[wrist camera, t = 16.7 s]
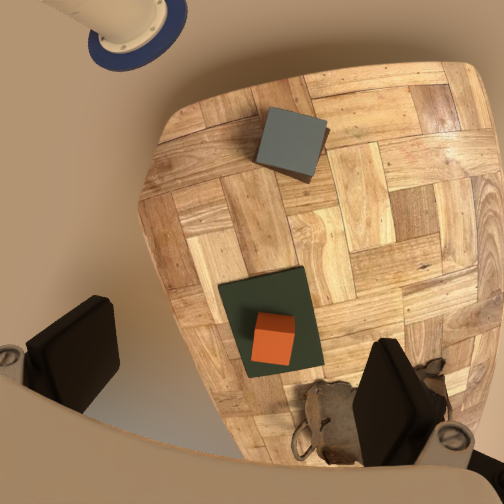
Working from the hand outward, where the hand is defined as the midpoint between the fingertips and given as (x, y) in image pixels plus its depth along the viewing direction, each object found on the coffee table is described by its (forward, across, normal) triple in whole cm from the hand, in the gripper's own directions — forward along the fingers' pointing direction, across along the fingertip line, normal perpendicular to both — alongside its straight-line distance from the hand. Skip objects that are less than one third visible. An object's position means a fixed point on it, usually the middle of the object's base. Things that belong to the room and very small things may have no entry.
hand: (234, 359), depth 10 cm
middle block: (+26, -1, -10) cm, 28 cm away
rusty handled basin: (+31, -22, +31) cm, 48 cm away
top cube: (+30, -2, +15) cm, 33 cm away
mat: (+30, -2, +15) cm, 34 cm away
